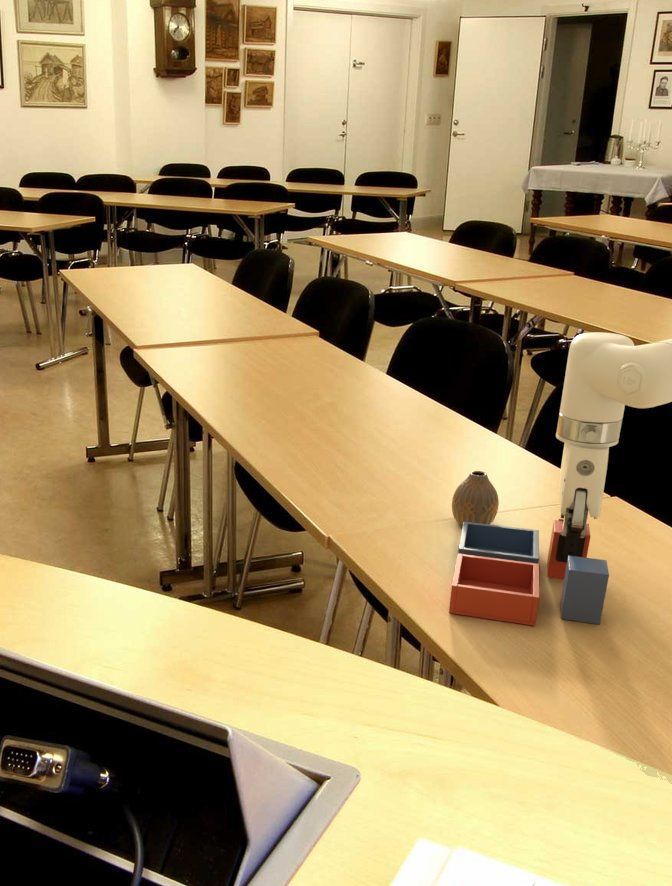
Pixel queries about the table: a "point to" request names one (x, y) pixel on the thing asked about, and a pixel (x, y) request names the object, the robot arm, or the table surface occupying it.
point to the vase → (475, 500)
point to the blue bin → (500, 542)
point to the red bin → (495, 589)
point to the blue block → (584, 589)
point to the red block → (553, 566)
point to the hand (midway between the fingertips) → (567, 552)
